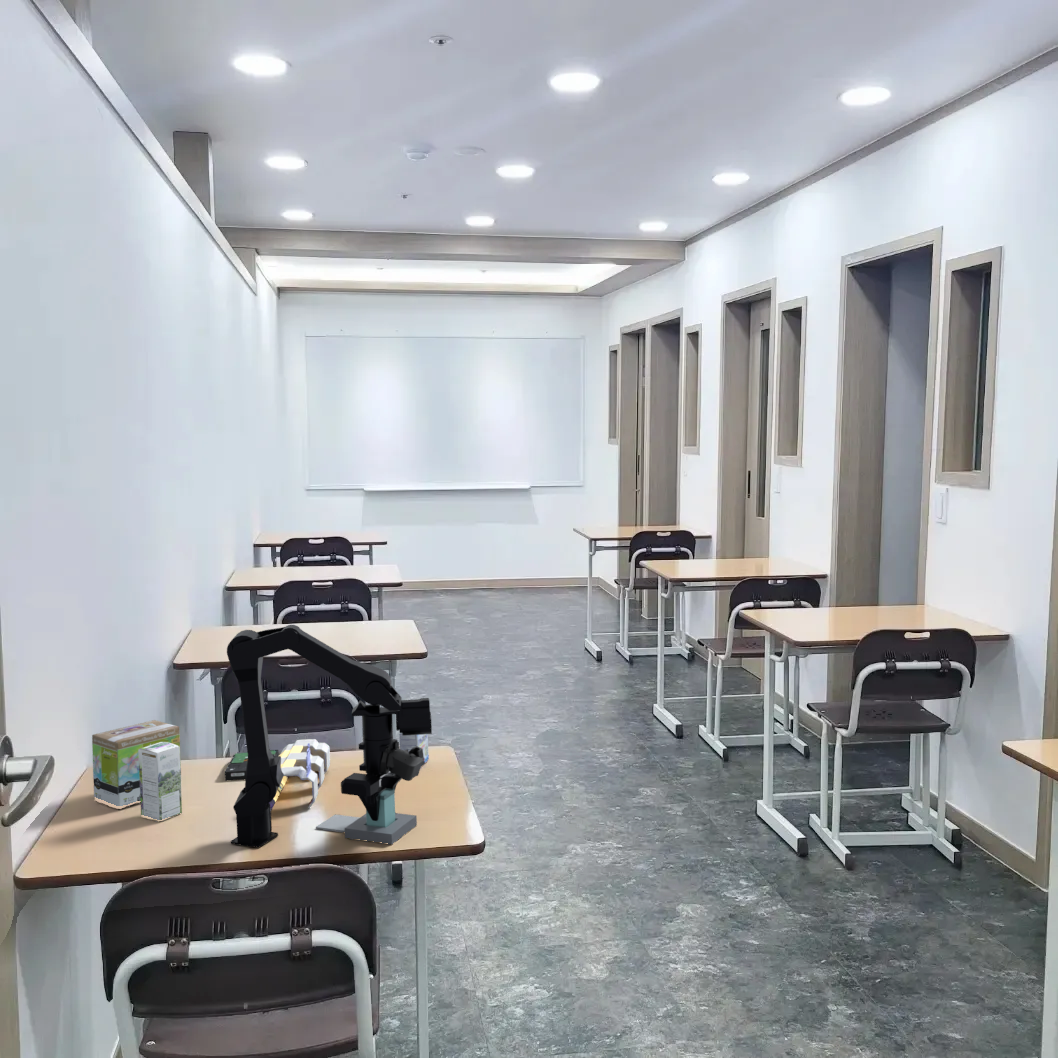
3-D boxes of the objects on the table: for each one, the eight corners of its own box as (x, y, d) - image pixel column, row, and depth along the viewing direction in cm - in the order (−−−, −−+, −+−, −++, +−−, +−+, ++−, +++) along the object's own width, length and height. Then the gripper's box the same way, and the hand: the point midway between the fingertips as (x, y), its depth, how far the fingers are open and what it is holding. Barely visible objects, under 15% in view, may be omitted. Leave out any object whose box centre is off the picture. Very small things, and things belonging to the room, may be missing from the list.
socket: (391, 844, 189) (391, 834, 189) (345, 838, 193) (344, 828, 193) (416, 825, 199) (416, 815, 198) (371, 819, 202) (371, 810, 202)
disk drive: (272, 780, 230) (279, 759, 244) (271, 768, 229) (278, 748, 244) (224, 783, 228) (234, 762, 243) (224, 771, 228) (234, 751, 243)
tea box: (119, 812, 210) (115, 741, 209) (93, 802, 216) (89, 734, 215) (183, 791, 222) (180, 724, 221) (156, 782, 228) (153, 717, 227)
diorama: (315, 810, 209) (312, 748, 208) (263, 813, 208) (261, 750, 207) (330, 772, 234) (328, 715, 233) (284, 773, 233) (282, 717, 232)
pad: (347, 833, 196) (347, 831, 196) (315, 828, 198) (315, 826, 198) (365, 820, 202) (365, 818, 202) (335, 816, 205) (335, 814, 205)
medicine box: (418, 770, 232) (417, 733, 232) (400, 769, 233) (398, 732, 233) (429, 759, 240) (427, 723, 239) (410, 759, 241) (409, 723, 240)
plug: (385, 837, 193) (384, 795, 192) (366, 834, 195) (365, 793, 194) (396, 829, 197) (394, 788, 196) (377, 827, 198) (375, 786, 198)
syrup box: (163, 809, 211) (160, 740, 210) (183, 814, 208) (179, 744, 207) (140, 818, 206) (136, 747, 205) (160, 823, 203) (156, 751, 202)
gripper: (391, 754, 183) (394, 839, 184) (437, 726, 200) (440, 804, 201) (337, 749, 187) (341, 832, 188) (387, 722, 204) (390, 798, 205)
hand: (380, 816), depth 195 cm, fingers closed on plug, 4 cm apart
